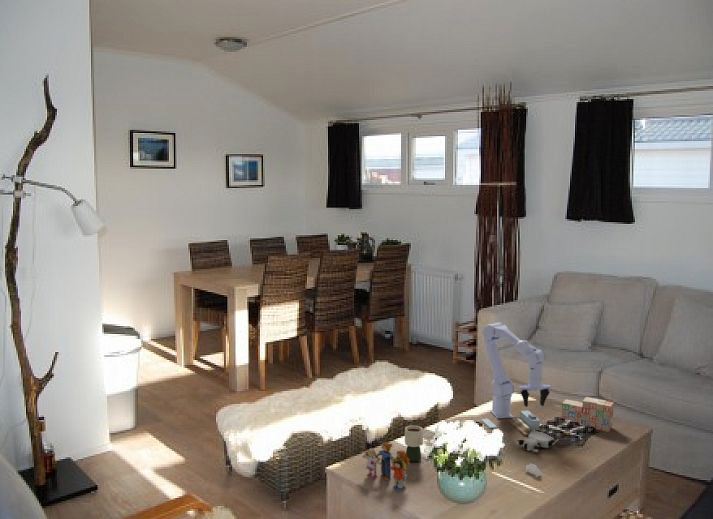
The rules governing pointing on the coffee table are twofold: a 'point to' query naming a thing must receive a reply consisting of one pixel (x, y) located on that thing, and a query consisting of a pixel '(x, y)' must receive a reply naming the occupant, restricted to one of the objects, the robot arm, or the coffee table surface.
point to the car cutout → (533, 469)
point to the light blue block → (529, 419)
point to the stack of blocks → (589, 412)
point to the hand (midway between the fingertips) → (533, 405)
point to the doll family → (388, 465)
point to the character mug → (413, 442)
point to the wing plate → (488, 423)
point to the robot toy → (536, 441)
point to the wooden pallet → (521, 426)
